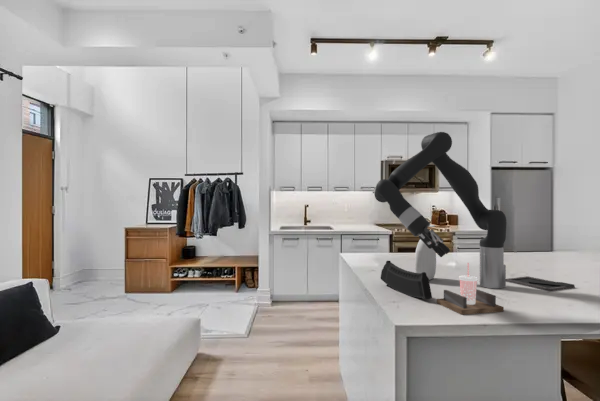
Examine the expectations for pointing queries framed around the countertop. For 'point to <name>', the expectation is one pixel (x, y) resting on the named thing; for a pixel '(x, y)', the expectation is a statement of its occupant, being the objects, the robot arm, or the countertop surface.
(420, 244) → the soap bottle
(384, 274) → the magazine
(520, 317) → the countertop surface
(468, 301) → the beverage cup
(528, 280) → the picture frame
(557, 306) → the countertop surface
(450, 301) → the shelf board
